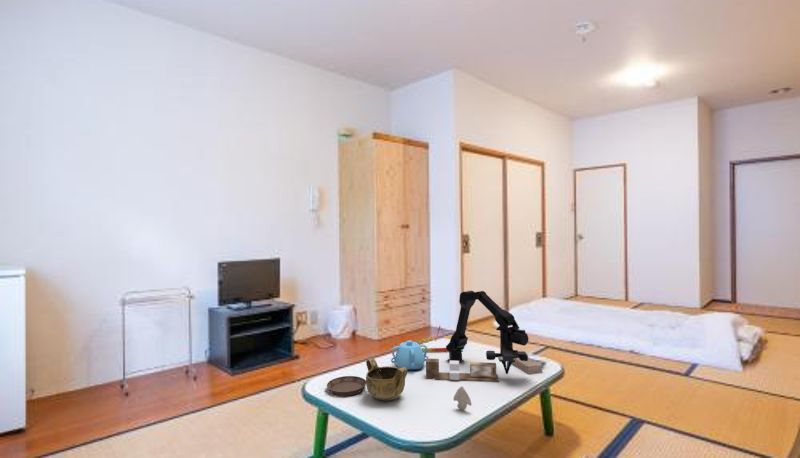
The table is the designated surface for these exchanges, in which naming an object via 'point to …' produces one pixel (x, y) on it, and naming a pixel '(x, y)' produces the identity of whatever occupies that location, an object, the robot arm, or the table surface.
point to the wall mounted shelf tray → (482, 369)
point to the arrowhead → (462, 398)
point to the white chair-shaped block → (454, 370)
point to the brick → (528, 366)
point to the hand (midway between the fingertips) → (506, 373)
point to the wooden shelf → (434, 373)
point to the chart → (434, 350)
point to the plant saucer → (346, 385)
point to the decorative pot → (409, 355)
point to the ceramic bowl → (384, 380)
